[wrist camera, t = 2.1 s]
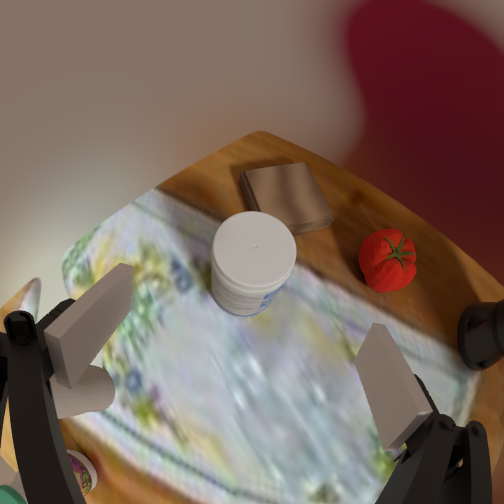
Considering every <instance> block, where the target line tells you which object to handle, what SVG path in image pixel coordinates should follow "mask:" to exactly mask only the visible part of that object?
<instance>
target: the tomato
mask: <svg viewBox="0 0 504 504" xmlns="http://www.w3.org/2000/svg"><path fill="white" fill-rule="evenodd" d="M416 256H417V255H416V252H415V246H414V244H413V242H412V240H411V239H408V238H405V235H403V233H402V231H400V230H397V229H392V228H390V229H383V230H380V231H377V232H375V233H372V234H371V235H370V236H368V237H367V238H366V240H365V241H364V242H363V243H362V245H361V246H360V251H359V255H358V259H359V265H360V268H361V271H362V272H363V274H364V276H365V280H366V283H367V284H368V286H369V287H370V288H371V289H373V290H374V291H376V292H379V293H381V292H388V291H397V290H399V289H401V288H403V287H405V286H406V285H408V284H409V283H410V282H411V281H412V279H413V278H414V276H415V274H416V272H417V271H416V266H415V264H414V262H415V260H416Z"/></svg>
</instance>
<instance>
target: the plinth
mask: <svg viewBox="0 0 504 504" xmlns="http://www.w3.org/2000/svg"><path fill="white" fill-rule="evenodd" d="M239 184H240V186H241V189H242V192H243V194H244V197H245V199H246V202H247V205H248V207H249V210H250V211H257V212H262V213H266V214H269V215H271V216H273V217H275V218H277V219H278V220H280V221H281V222H282V223H283V224H284V225H285V226H286V227H287V228H288V229H289V231H290V232H291V234H292V236H295V235H299V234H303V233H307V232H312V231H316V230H320V229H324V228H328V227H329V226H330V225H331V223H332V222H333V220H334V217H333V213H332V211H331V209H330V207H329V205H328V203H327V201H326V199H325V197H324V196H323V194H322V192H321V190H320V188H319V186H318V184H317V182H316V181H315V179H314V177H313V175H312V173H311V171H310V170H309V168H308V166H307V164H306V162H301V163H293V164H286V165H279V166H272V167H265V168H259V169H253V170H247V171H245V172H243V173H241V175H240V181H239Z"/></svg>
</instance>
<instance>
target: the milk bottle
mask: <svg viewBox="0 0 504 504" xmlns="http://www.w3.org/2000/svg"><path fill="white" fill-rule="evenodd" d="M66 450H67V453H68V456H69V459H70V462H71V465H72V468H73V471H74V474H75V476H76V479H77V482H78V484H79V487H80V489H81V492H82V494H83V496H84V495H86V494H87V493H88V492H89V491H91V490H92V489H93V488H94V487H95V485H96V483H97V473H96V470H95V468H94V466H93V464H92V463H91V462H90V461H89V459H88V458H86V457H85V456H84V455H83V454H81V453H79V452H77V451H74V450H70V449H66ZM0 504H28V502H27V499H26V496H25V492H24V489H23V485H22V481H21V477H20V473H19V471H18V472H17V474H16V477H15V479H14V481H13V482H12V483H11V484H4V485H1V486H0Z"/></svg>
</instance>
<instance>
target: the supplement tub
mask: <svg viewBox="0 0 504 504" xmlns="http://www.w3.org/2000/svg"><path fill="white" fill-rule="evenodd" d="M295 259H296V244H295V241H294V238H293V236H292V234H291V232H290V231H289V229H288V228H287V227H286V226H285V225H284V224H283V223H282V222H281V221H280V220H278V219H277V218H275V217H273V216H271V215H269V214H266V213H262V212H257V211H247V212H241V213H238V214H235V215H233V216H231V217H229V218H228V219H226V220H225V221H224V222H223V223H222V224H221V225H220V226H219V228H218V229H217V231H216V233H215V236H214V239H213V243H212V249H211V280H212V293H213V297H214V300H215V301H216V303H217V305H218V306H219V307H220V308H221V309H222V310H223V311H224V312H226V313H227V314H229V315H231V316H234V317H239V318H248V317H253V316H256V315H258V314H260V313H261V312H263V311H264V310H265V309H266V308H267V307H268V305H269V304H270V303H271V301H272V300H273V299H274V297H275V296H276V294H277V293H278V291H279V290H280V288H281V287H282V286H283V284H284V283H285V281H286V280H287V278H288V276H289V275H290V273H291V271H292V268H293V265H294V263H295Z"/></svg>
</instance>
